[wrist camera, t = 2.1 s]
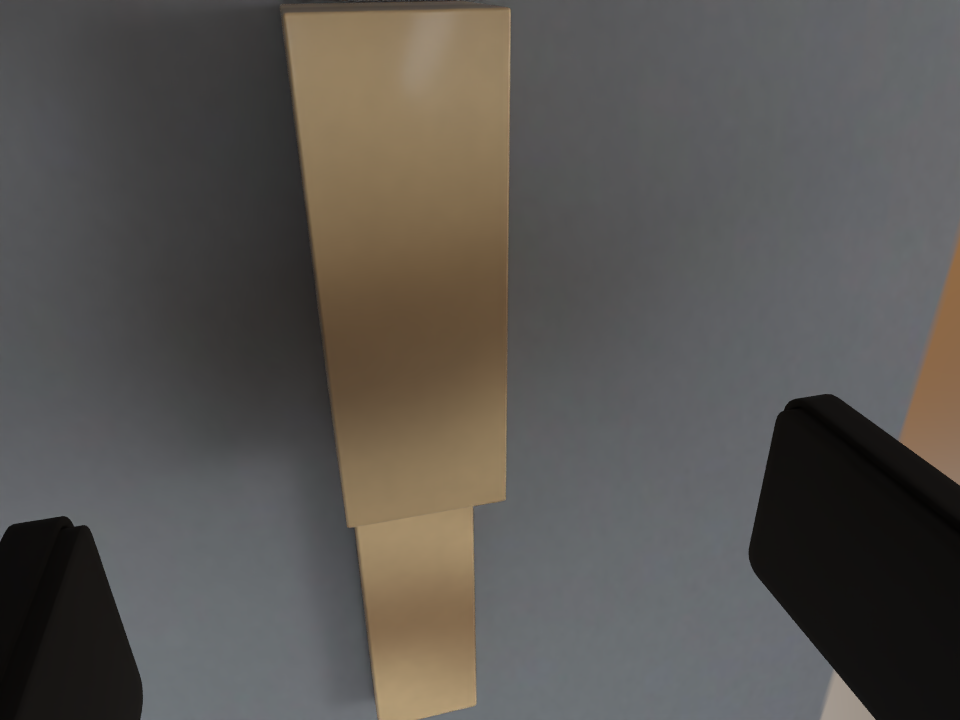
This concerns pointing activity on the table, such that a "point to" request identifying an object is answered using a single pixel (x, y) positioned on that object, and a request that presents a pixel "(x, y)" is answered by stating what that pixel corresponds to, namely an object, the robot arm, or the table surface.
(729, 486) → the table surface
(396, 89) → the tan block
